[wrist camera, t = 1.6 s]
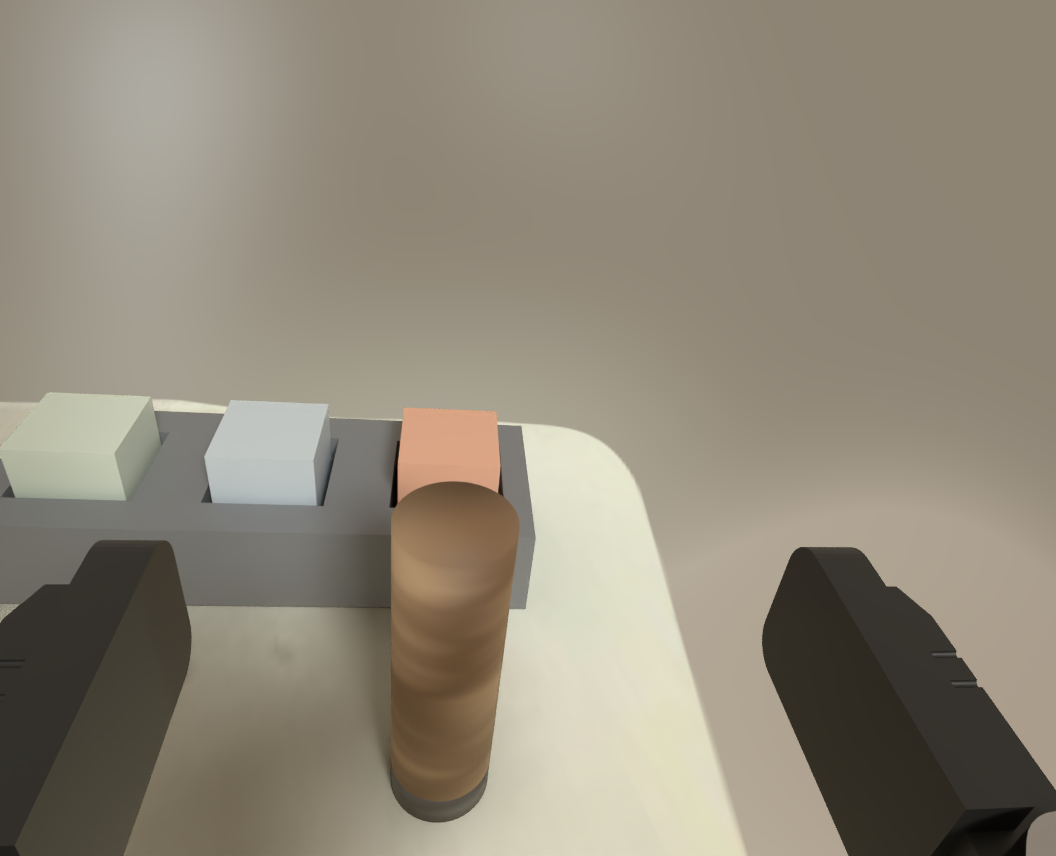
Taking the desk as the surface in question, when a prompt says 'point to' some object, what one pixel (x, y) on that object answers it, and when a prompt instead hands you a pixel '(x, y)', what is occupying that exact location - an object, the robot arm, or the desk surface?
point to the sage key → (82, 447)
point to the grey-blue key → (271, 454)
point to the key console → (247, 524)
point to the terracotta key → (448, 448)
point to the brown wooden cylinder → (447, 642)
